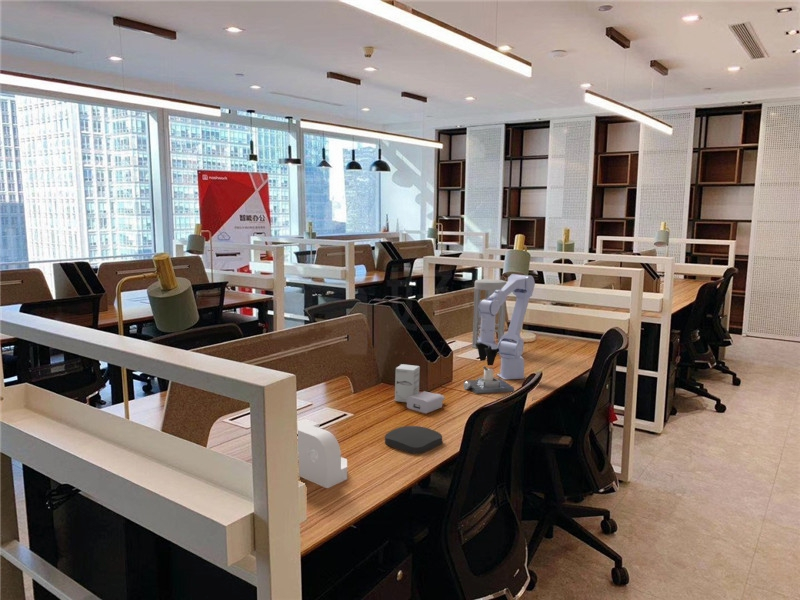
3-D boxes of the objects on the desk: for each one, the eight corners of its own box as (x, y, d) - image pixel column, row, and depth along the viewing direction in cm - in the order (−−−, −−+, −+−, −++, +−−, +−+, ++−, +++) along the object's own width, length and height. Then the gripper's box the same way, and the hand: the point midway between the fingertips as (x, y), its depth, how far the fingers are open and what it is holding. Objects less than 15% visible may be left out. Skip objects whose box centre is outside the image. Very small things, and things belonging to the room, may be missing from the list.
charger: (452, 404, 218) (427, 414, 206) (432, 399, 224) (406, 408, 212) (452, 391, 217) (427, 401, 206) (432, 386, 223) (406, 395, 212)
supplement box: (394, 401, 219) (394, 368, 217) (401, 395, 226) (401, 363, 224) (413, 404, 217) (413, 370, 215) (419, 398, 224) (420, 365, 222)
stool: (485, 343, 319) (488, 278, 314) (509, 348, 308) (512, 281, 303) (466, 347, 309) (468, 280, 304) (490, 353, 298) (492, 283, 293)
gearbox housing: (500, 382, 247) (500, 373, 246) (513, 391, 234) (514, 382, 234) (459, 384, 242) (459, 376, 242) (471, 394, 230) (471, 385, 229)
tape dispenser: (285, 470, 160) (285, 425, 158) (315, 458, 168) (314, 415, 166) (327, 488, 150) (327, 441, 148) (356, 475, 158) (356, 429, 156)
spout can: (490, 386, 241) (491, 364, 239) (493, 388, 237) (494, 366, 236) (480, 386, 240) (481, 365, 238) (483, 389, 236) (484, 367, 235)
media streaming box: (417, 457, 171) (417, 447, 170) (379, 443, 180) (379, 434, 180) (447, 442, 182) (447, 433, 181) (410, 430, 191) (410, 421, 191)
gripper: (471, 326, 244) (470, 358, 246) (485, 333, 231) (484, 367, 233) (487, 325, 246) (486, 358, 248) (502, 333, 232) (501, 366, 235)
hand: (486, 362), depth 241 cm, fingers open, 7 cm apart
